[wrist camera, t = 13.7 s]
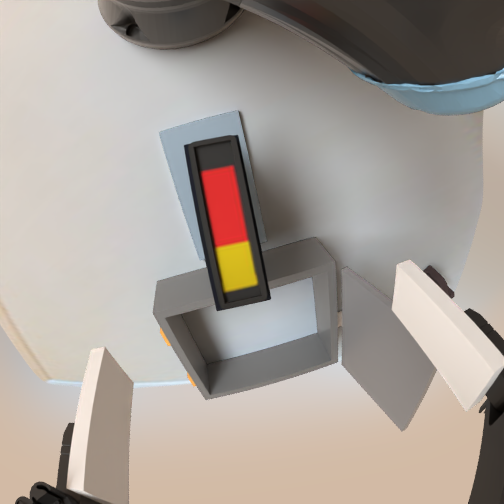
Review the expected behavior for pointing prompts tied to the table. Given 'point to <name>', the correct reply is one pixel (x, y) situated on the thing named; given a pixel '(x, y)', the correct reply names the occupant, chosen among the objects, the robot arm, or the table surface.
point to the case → (268, 360)
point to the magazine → (226, 222)
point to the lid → (382, 351)
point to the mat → (176, 160)
